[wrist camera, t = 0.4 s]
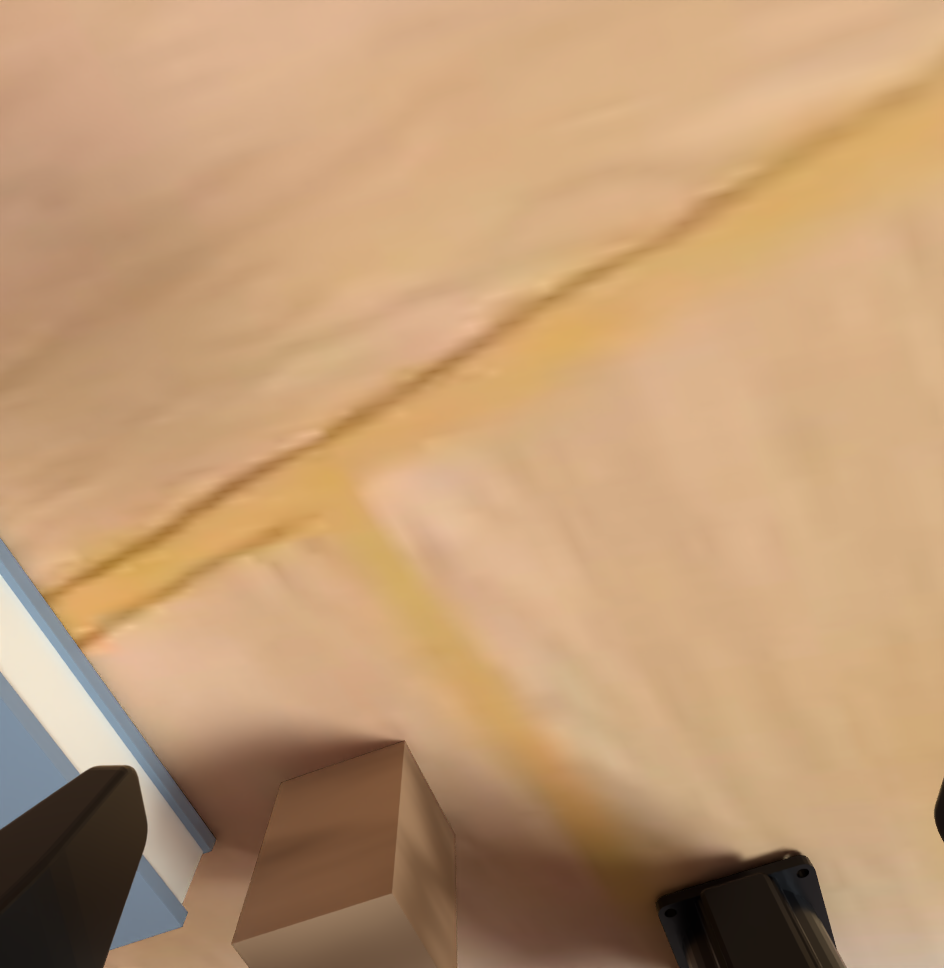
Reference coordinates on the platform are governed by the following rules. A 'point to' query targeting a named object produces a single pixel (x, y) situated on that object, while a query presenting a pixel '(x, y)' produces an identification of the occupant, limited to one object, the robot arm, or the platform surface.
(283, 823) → the walnut block
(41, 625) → the book
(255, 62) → the platform surface
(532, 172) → the platform surface
